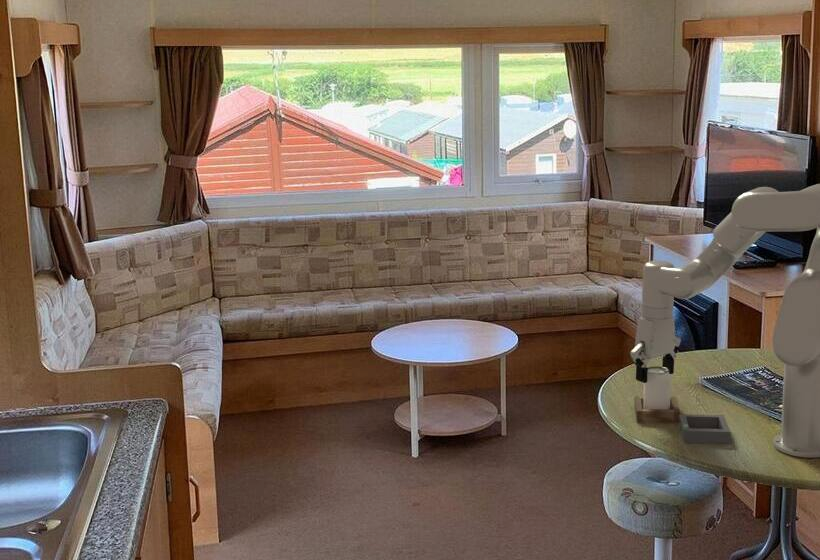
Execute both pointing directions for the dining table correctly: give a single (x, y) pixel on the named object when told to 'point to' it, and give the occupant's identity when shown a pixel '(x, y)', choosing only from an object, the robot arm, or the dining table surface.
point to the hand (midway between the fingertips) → (654, 377)
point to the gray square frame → (704, 429)
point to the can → (657, 388)
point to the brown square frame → (656, 412)
